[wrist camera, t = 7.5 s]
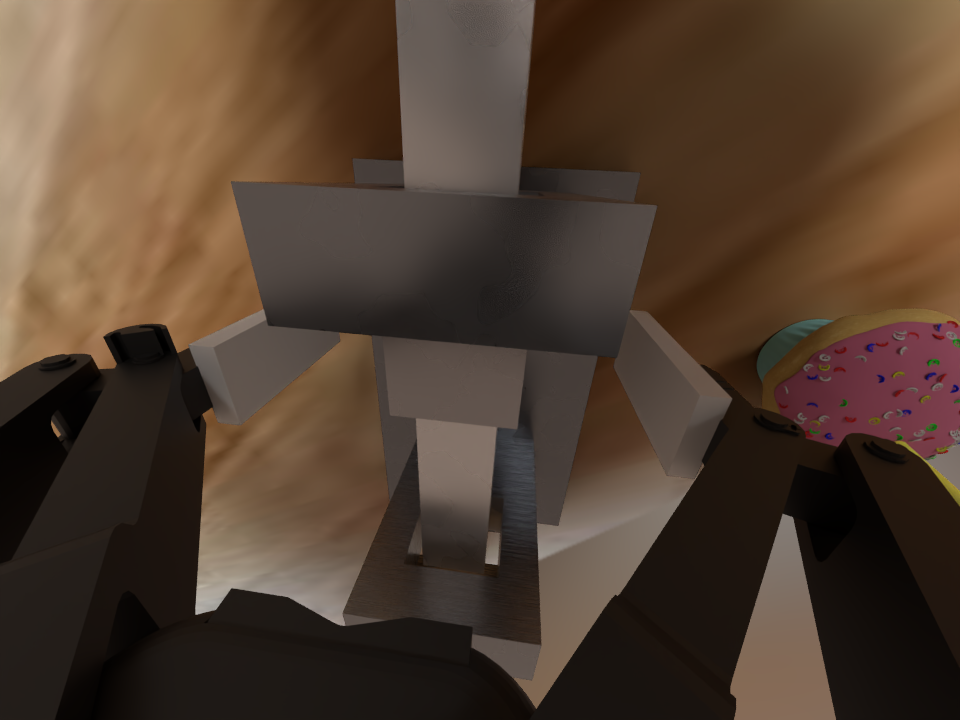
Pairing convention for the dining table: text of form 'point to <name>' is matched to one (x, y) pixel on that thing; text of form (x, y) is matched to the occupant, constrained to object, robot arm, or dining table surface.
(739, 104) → the dining table surface
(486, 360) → the shaft
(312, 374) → the dining table surface
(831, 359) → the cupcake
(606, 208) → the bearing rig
